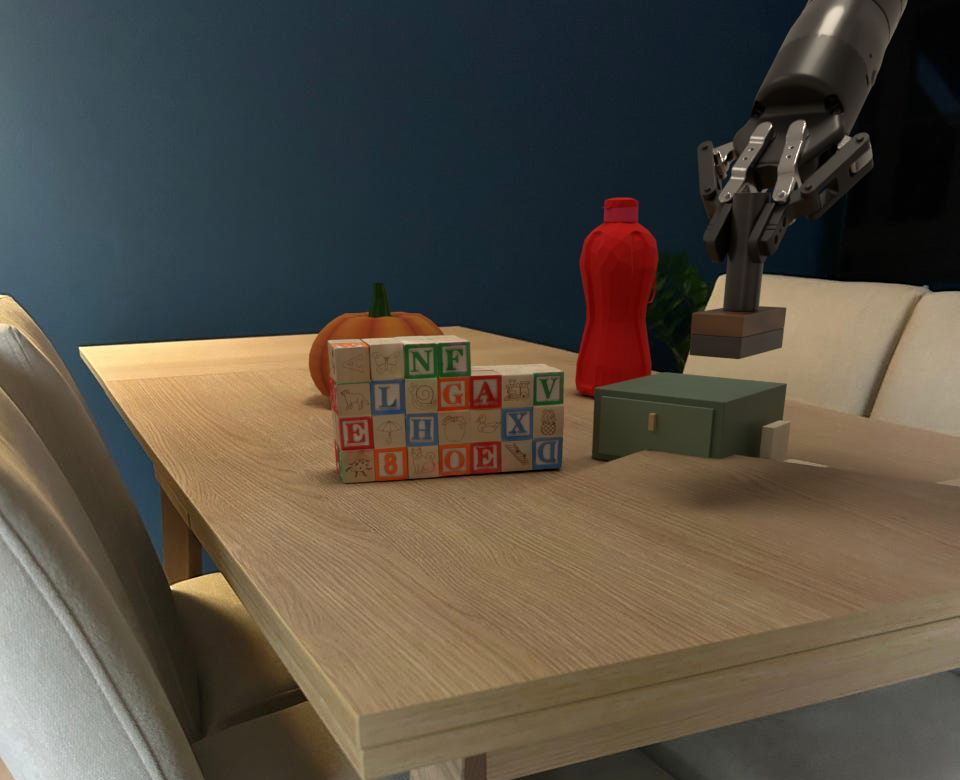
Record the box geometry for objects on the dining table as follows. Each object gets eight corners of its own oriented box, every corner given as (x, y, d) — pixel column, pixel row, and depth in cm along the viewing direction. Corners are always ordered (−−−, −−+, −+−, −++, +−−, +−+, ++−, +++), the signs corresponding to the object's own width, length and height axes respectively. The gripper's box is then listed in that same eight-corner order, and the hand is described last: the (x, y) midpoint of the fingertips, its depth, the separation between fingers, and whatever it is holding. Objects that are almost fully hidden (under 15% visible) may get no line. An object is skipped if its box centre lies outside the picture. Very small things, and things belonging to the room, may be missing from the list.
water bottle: (669, 395, 134) (683, 197, 124) (604, 402, 129) (614, 196, 119) (628, 387, 141) (639, 198, 132) (566, 393, 136) (571, 198, 127)
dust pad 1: (774, 460, 97) (786, 462, 96) (757, 467, 94) (769, 469, 94) (779, 420, 96) (790, 421, 95) (762, 426, 93) (774, 427, 92)
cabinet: (779, 452, 100) (787, 383, 98) (714, 479, 90) (721, 403, 87) (659, 436, 108) (664, 372, 106) (587, 459, 98) (589, 388, 95)
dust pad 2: (792, 458, 92) (790, 470, 93) (766, 464, 90) (764, 477, 91) (828, 465, 90) (827, 478, 90) (803, 472, 87) (801, 485, 88)
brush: (734, 344, 78) (748, 193, 73) (782, 347, 76) (800, 192, 71) (688, 355, 72) (701, 192, 68) (739, 359, 70) (755, 191, 65)
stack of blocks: (543, 456, 99) (546, 330, 94) (563, 470, 94) (566, 337, 89) (334, 469, 95) (326, 337, 90) (341, 484, 89) (332, 344, 84)
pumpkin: (398, 384, 145) (394, 277, 139) (482, 400, 131) (482, 282, 125) (285, 399, 133) (275, 283, 127) (365, 418, 120) (358, 289, 114)
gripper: (723, 41, 74) (632, 215, 71) (911, 19, 66) (819, 213, 63) (746, 124, 80) (662, 288, 77) (921, 113, 72) (838, 295, 68)
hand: (734, 253), depth 70 cm, fingers closed on brush, 2 cm apart
